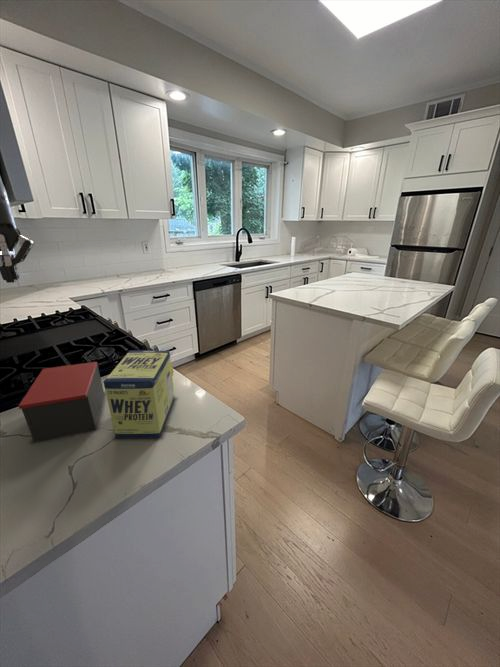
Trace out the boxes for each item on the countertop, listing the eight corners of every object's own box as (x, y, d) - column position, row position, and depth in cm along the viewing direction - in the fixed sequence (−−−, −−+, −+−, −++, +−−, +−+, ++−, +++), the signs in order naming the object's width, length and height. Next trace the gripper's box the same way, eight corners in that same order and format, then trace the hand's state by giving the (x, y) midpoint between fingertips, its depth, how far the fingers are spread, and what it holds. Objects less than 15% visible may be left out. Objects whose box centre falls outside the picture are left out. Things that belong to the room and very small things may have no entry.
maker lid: (86, 397, 62) (85, 394, 62) (19, 409, 58) (18, 406, 58) (97, 363, 76) (96, 361, 76) (43, 371, 72) (43, 368, 72)
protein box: (114, 439, 64) (101, 381, 58) (138, 399, 78) (129, 349, 72) (160, 439, 64) (152, 381, 58) (175, 398, 78) (170, 349, 72)
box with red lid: (96, 429, 66) (87, 395, 63) (34, 442, 63) (20, 406, 59) (104, 393, 80) (97, 364, 76) (53, 402, 76) (43, 371, 72)
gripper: (29, 202, 64) (49, 277, 71) (-43, 200, 60) (-15, 280, 66) (16, 200, 57) (40, 283, 64) (-66, 198, 53) (-32, 287, 60)
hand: (12, 281), depth 65 cm, fingers closed
